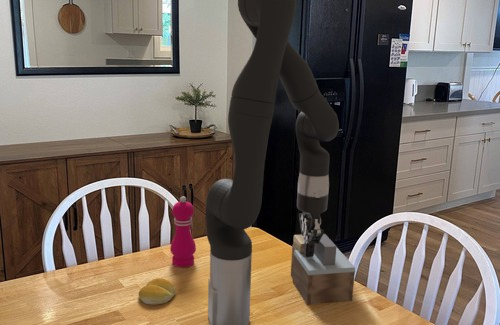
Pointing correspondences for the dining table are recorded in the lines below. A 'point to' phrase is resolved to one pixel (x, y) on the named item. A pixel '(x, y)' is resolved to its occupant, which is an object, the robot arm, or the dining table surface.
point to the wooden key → (299, 243)
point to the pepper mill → (183, 234)
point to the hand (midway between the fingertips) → (308, 255)
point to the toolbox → (321, 284)
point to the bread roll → (157, 292)
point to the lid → (325, 259)
